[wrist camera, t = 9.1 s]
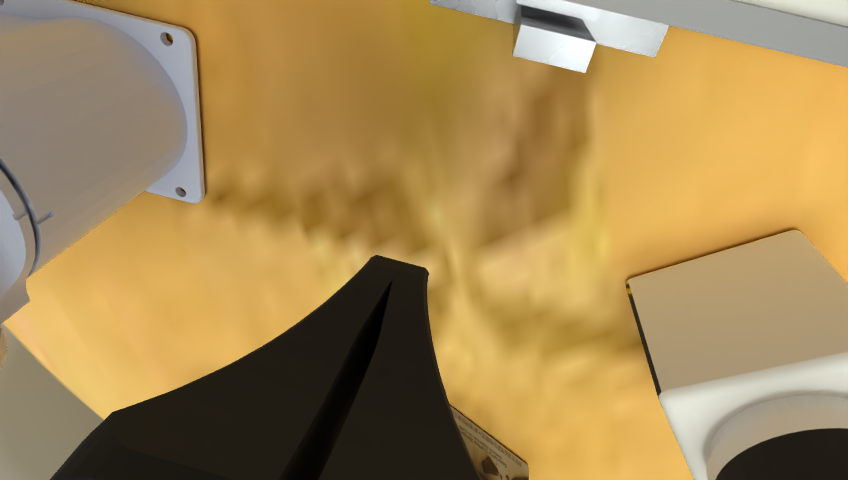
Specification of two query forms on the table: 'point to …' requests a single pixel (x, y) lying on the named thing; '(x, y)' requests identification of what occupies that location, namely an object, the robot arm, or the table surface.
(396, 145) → the table surface
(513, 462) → the coffee box
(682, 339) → the medicine bottle
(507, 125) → the table surface
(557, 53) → the pivot stand
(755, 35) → the beam
